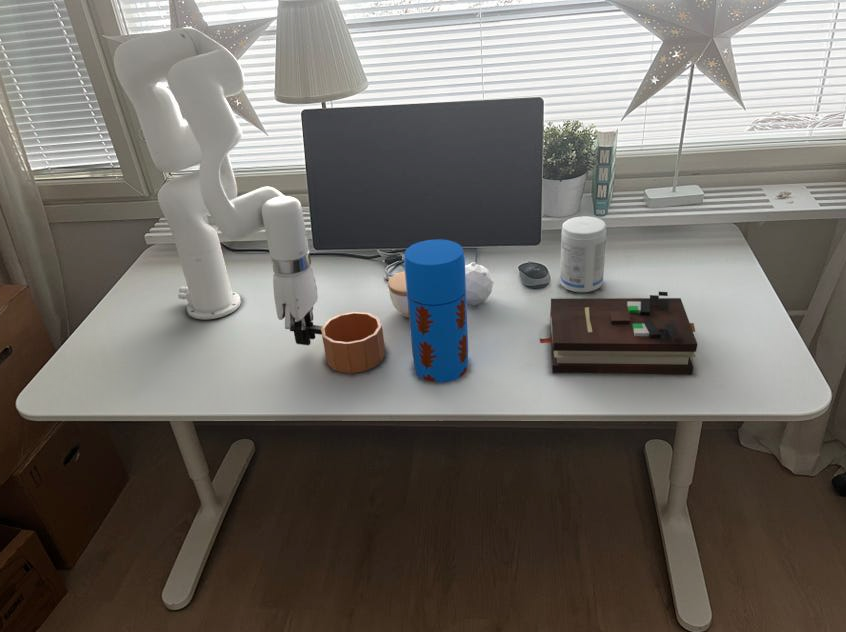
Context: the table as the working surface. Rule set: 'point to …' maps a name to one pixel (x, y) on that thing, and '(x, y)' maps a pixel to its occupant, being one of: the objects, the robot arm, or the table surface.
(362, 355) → the copper saucepan
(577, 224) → the supplement tub
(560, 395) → the table surface
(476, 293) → the decorative ball
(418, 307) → the thermos
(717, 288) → the table surface
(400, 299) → the trinket box
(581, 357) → the decorative book
